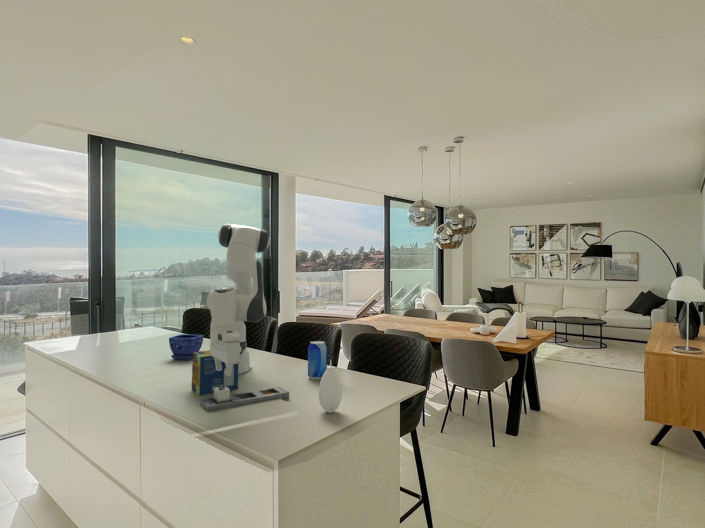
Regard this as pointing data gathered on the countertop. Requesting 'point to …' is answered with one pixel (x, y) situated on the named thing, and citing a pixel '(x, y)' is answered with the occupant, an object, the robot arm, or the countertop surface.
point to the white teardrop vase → (330, 390)
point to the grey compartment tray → (246, 398)
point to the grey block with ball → (221, 395)
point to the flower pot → (185, 345)
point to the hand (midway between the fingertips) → (223, 373)
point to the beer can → (317, 360)
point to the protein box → (210, 374)
